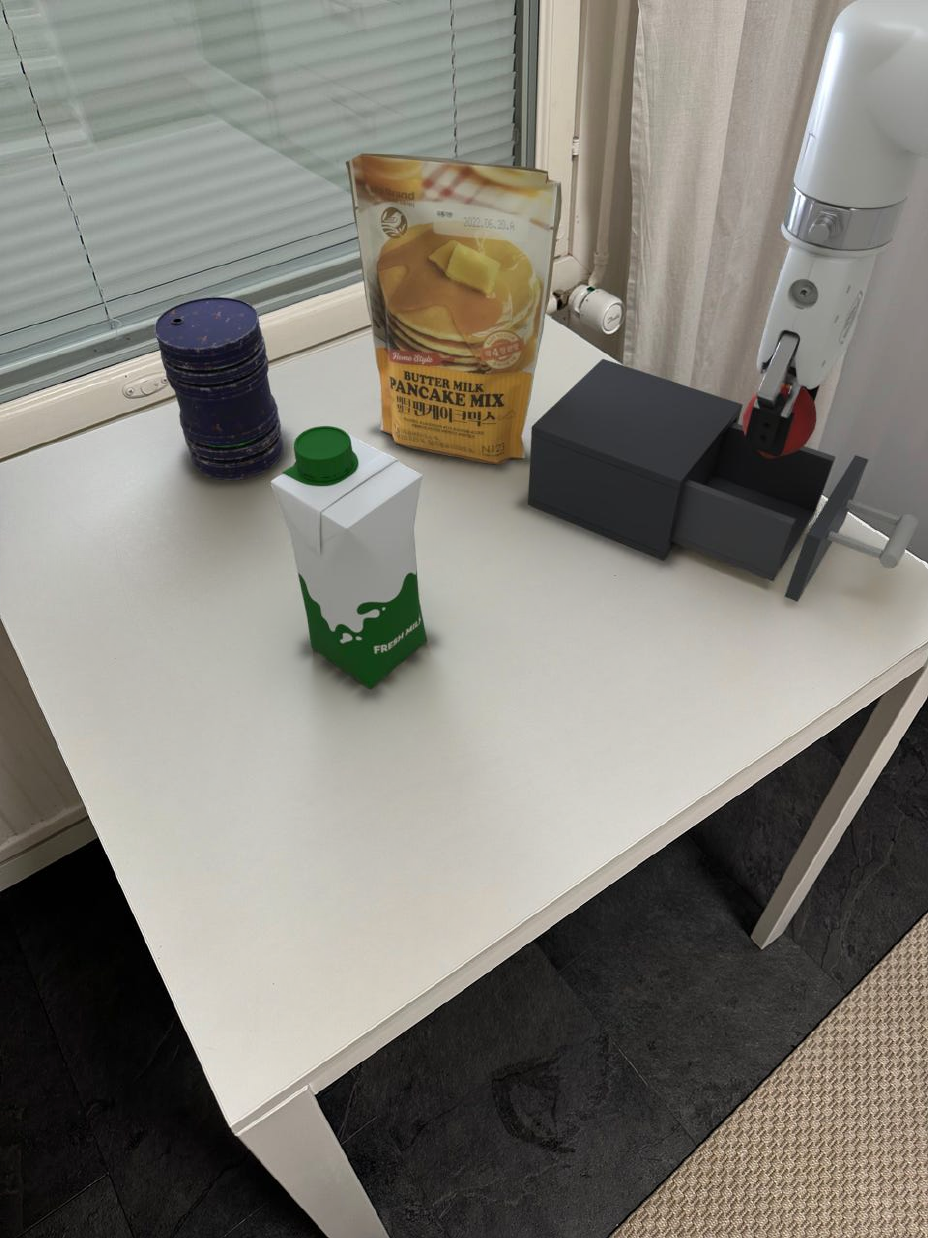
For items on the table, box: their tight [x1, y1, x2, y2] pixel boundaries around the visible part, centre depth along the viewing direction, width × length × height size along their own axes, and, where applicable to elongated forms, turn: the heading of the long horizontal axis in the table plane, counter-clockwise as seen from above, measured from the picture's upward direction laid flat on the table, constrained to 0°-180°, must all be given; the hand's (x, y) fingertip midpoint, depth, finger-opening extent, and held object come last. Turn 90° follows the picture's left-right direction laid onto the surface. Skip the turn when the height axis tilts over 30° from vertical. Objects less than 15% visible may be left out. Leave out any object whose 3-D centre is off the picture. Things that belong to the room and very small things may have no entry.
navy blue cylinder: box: [153, 296, 285, 481], centre depth 89 cm, size 10×10×15 cm
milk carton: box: [270, 425, 428, 690], centre depth 69 cm, size 9×9×20 cm
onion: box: [742, 382, 817, 459], centre depth 74 cm, size 6×6×8 cm
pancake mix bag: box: [345, 152, 563, 466], centre depth 86 cm, size 7×19×28 cm, turn 71°
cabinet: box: [527, 358, 743, 561], centre depth 86 cm, size 15×14×9 cm
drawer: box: [671, 422, 919, 603], centre depth 80 cm, size 20×13×7 cm, turn 56°
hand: (777, 427), depth 75 cm, fingers closed on onion, 5 cm apart
